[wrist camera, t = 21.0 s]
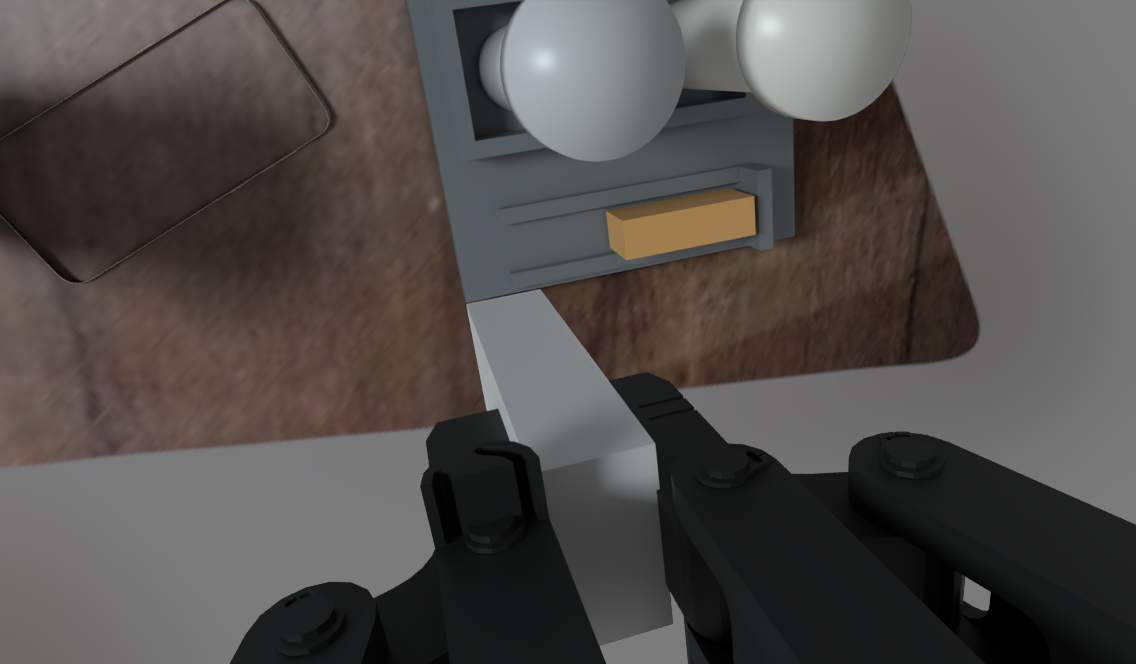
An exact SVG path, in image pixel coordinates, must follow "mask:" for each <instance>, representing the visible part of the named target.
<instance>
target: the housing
mask: <svg viewBox="0 0 1136 664" xmlns="http://www.w3.org/2000/svg"><path fill="white" fill-rule="evenodd" d="M671 1H675V0H406V3H407V8H408V13H409V18H410V23H411V28H412V34H413V39H414V44H415V49H416V54H417V59H418V64H419V70H420V75H421V80H422V85H423V90H424V95H425V100H426V106H427V111H428V116H429V121H430V126H431V131H432V136H433V142H434V147H435V152H436V157H437V162H438V167H439V172H440V178H441V183H442V188H443V193H444V198H445V203H446V208H447V214H448V219H449V224H450V229H451V234H452V239H453V244H454V250H455V255H456V260H457V265H458V270H459V275H460V280H461V286H462V291H463V295H464V298H465V300H466V302H471V301H476V300H481V299H486V298H491V297H496V296H501V295H506V294H511V293H516V292H521V291H526V290H531V289H536V288H541V287H546V286H551V285H556V284H561V283H566V282H571V281H576V280H580V279H585V278H590V277H595V276H600V275H605V274H610V273H615V272H620V271H625V270H630V269H635V268H640V267H645V266H650V265H655V264H660V263H665V262H670V261H675V260H680V259H685V258H690V257H694V256H699V255H704V254H709V253H714V252H719V251H724V250H729V249H734V248H739V247H744V246H751V247H753V248H755V249H757V250H759V251H761V250H766V249H771V248H774V246H773V241H774V240H779V239H784V238H789V237H794V236H795V208H794V143H793V118H790V117H785V116H782V115H780V114H777V113H775V112H773V111H771V110H770V109H768V108H767V107H765V106H764V105H763V104H762V103H761V102H759V100H758V99H757V98H756V97H755V96H754V95H753V94H752V92H737V91H718V90H699V89H682V87H683V83H684V77H685V67H686V60H685V47H684V40H683V36H682V32H681V29H680V26H679V23H678V21H677V18H676V16H675V14H674V12H673V10H672V8H671V7H670V5H669V4H668V2H671ZM727 188H731V189H734V190H737V191H740V192H743V193H746V194H749V195H752V196H754V203H755V231H756V235H752V236H747V237H742V238H737V239H732V240H726V241H721V242H716V243H711V244H706V245H701V246H696V247H691V248H686V249H681V250H676V251H671V252H666V253H661V254H656V255H651V256H646V257H641V258H636V259H631V260H625V259H624V258H623V257H621V256H620V255H619V254H618V253H616V252H615V251H614V250H612V249H611V248H610V243H609V234H608V225H607V216H606V211H608V210H614V209H619V208H624V207H630V206H635V205H641V204H646V203H651V202H657V201H662V200H668V199H673V198H678V197H684V196H689V195H695V194H700V193H705V192H711V191H716V190H722V189H727Z"/></svg>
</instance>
